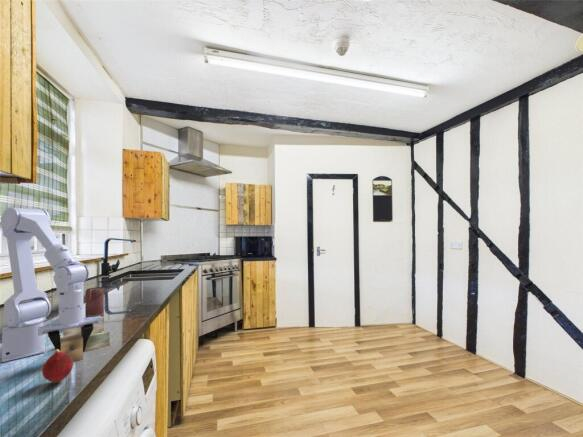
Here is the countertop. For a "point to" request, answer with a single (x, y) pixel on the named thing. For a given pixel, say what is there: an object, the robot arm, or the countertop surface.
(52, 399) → the countertop surface
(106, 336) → the wooden cubby shelf
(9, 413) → the countertop surface
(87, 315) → the can
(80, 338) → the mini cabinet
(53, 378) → the onion
